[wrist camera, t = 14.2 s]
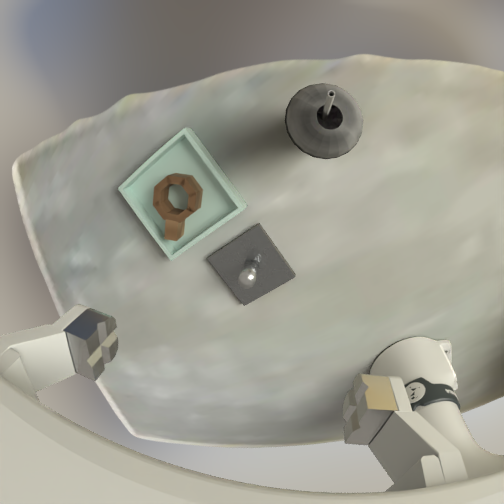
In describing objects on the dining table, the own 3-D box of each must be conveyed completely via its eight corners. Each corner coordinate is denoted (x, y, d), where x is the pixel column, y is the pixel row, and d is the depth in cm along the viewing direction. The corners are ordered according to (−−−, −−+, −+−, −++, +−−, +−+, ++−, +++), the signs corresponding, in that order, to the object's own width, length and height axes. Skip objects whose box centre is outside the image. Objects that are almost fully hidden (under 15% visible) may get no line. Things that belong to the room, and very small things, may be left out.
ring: (164, 171, 40) (155, 173, 37) (204, 177, 39) (198, 179, 36) (159, 229, 43) (150, 236, 40) (197, 237, 42) (190, 244, 40)
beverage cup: (298, 162, 37) (304, 179, 19) (279, 110, 35) (264, 77, 17) (350, 145, 36) (405, 149, 17) (331, 94, 34) (367, 48, 15)
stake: (295, 273, 43) (295, 290, 38) (245, 302, 46) (239, 321, 41) (259, 222, 41) (254, 234, 36) (209, 256, 44) (198, 270, 39)
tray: (247, 205, 40) (244, 209, 38) (177, 254, 44) (171, 261, 42) (191, 128, 38) (184, 127, 35) (126, 185, 42) (117, 188, 39)
